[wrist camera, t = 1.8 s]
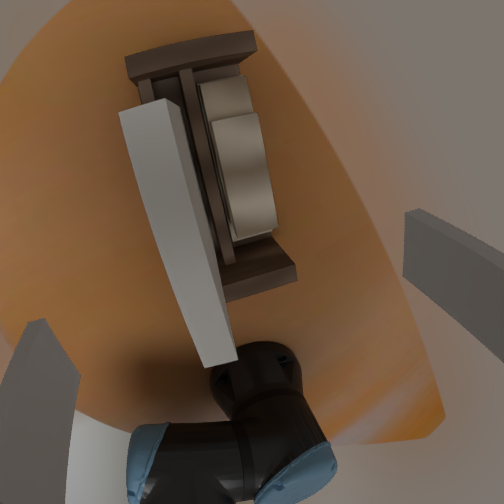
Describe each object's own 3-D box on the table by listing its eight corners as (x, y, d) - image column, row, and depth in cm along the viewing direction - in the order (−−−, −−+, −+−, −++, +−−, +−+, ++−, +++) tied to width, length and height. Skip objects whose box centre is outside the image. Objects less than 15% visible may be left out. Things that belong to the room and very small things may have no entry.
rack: (270, 246, 42) (297, 280, 34) (188, 270, 41) (196, 311, 32) (231, 50, 31) (253, 30, 23) (135, 72, 30) (124, 56, 21)
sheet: (210, 226, 37) (238, 359, 18) (193, 230, 37) (204, 368, 18) (180, 107, 31) (165, 98, 11) (162, 112, 31) (118, 112, 11)
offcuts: (268, 225, 39) (282, 242, 35) (229, 236, 39) (239, 254, 34) (238, 76, 31) (251, 70, 27) (195, 85, 31) (200, 79, 26)
